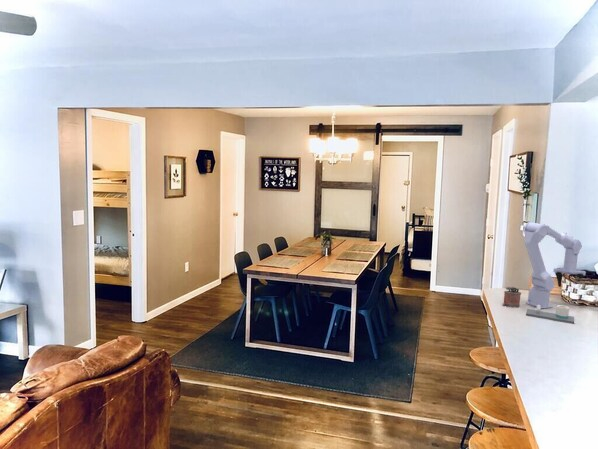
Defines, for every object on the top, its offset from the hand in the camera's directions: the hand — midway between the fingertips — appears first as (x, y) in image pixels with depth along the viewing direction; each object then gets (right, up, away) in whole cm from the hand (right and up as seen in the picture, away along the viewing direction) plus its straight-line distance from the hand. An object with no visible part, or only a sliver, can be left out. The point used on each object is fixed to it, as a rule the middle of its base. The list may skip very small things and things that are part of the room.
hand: (567, 287), depth 244 cm
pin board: (-21, -11, -22) cm, 32 cm away
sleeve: (-17, -11, -24) cm, 31 cm away
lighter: (-32, -9, -6) cm, 34 cm away
